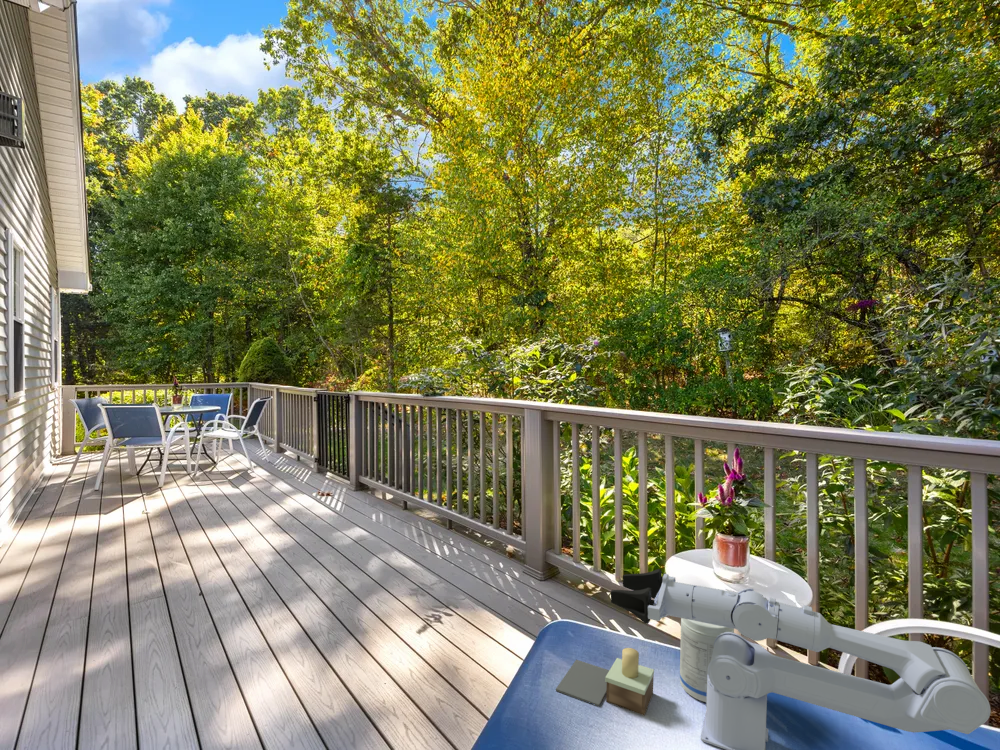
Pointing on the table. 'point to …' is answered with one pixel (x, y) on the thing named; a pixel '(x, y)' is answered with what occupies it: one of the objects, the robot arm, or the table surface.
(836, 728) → the table surface
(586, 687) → the mat
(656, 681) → the table surface
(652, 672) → the lid
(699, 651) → the supplement tub
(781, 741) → the table surface
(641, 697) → the box
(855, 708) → the robot arm
